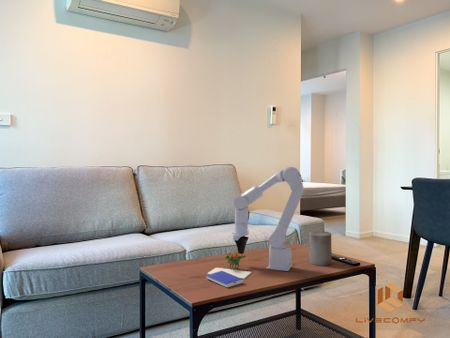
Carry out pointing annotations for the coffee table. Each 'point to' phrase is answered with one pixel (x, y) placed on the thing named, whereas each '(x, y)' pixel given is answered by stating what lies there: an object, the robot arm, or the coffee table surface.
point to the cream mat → (232, 272)
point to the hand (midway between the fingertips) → (241, 253)
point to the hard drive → (224, 278)
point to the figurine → (234, 259)
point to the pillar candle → (320, 248)
